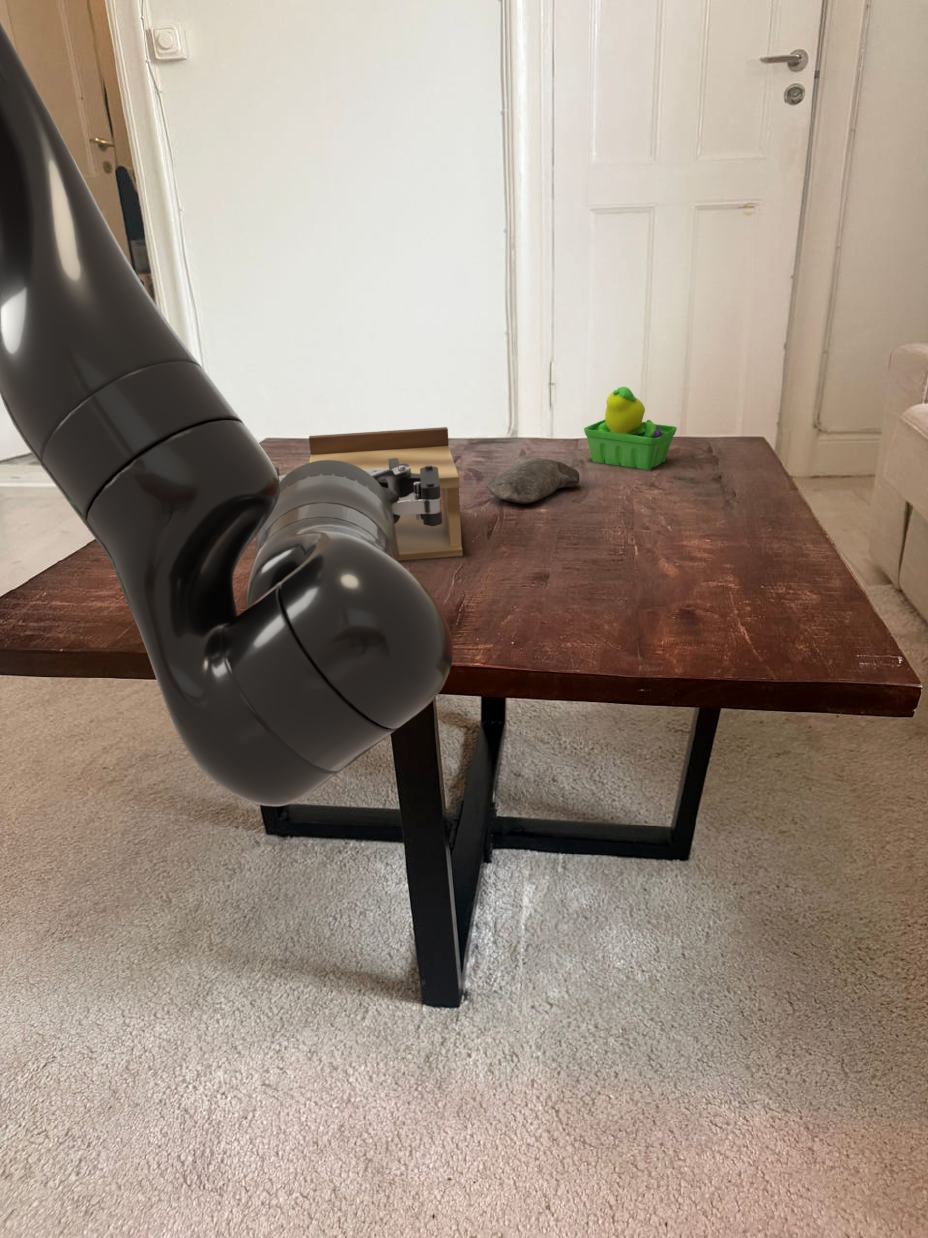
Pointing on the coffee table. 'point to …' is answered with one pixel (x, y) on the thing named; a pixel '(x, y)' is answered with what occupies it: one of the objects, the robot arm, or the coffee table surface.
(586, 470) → the coffee table surface
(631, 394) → the fruit basket
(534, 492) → the stone
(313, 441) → the shelf
